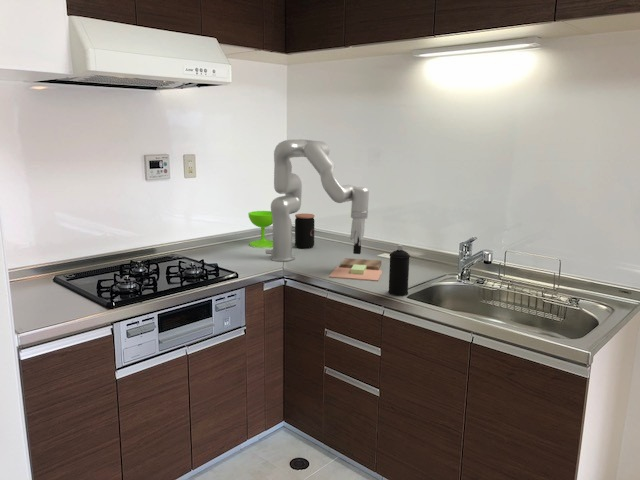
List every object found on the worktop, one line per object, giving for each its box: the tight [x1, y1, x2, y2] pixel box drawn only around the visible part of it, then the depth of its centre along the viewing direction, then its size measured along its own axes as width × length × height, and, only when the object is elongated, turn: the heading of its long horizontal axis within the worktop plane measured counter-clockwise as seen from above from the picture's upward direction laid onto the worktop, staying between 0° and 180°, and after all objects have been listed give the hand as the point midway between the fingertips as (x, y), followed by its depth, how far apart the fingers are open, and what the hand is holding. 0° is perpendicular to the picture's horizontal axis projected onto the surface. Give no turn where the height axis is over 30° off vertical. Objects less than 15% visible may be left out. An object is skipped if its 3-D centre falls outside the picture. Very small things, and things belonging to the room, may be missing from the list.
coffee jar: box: [294, 213, 315, 250], centre depth 288 cm, size 11×11×18 cm
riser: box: [340, 257, 382, 270], centre depth 251 cm, size 18×12×2 cm, turn 76°
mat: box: [328, 266, 383, 282], centre depth 238 cm, size 22×16×1 cm
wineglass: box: [248, 210, 273, 248], centre depth 292 cm, size 16×16×18 cm
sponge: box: [351, 264, 367, 275], centre depth 240 cm, size 6×9×2 cm, turn 167°
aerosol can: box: [387, 244, 411, 297], centre depth 210 cm, size 8×8×20 cm
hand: (356, 253), depth 241 cm, fingers closed
